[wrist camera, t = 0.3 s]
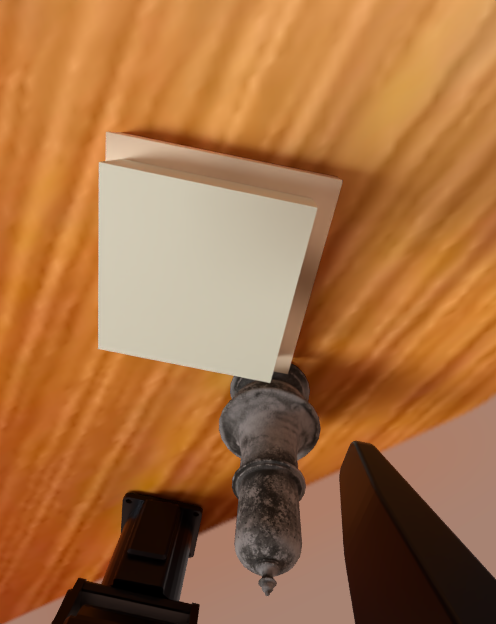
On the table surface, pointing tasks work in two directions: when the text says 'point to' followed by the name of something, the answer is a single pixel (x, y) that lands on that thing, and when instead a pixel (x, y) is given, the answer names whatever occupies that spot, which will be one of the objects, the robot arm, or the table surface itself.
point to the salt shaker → (269, 468)
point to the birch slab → (252, 174)
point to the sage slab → (197, 267)
